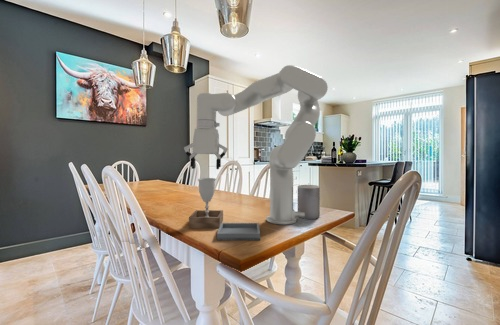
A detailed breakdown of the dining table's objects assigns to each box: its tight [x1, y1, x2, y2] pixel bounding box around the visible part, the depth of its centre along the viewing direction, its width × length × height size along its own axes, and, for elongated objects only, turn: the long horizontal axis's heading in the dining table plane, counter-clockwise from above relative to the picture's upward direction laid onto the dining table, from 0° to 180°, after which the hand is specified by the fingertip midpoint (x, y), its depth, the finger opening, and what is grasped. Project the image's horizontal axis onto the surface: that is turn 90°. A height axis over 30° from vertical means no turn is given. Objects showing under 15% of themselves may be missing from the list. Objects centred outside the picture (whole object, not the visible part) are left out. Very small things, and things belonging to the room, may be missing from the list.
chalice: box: [197, 177, 217, 217], centre depth 95 cm, size 7×7×18 cm
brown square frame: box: [188, 209, 224, 229], centre depth 95 cm, size 12×12×4 cm
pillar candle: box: [297, 183, 321, 220], centre depth 106 cm, size 10×10×15 cm
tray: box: [216, 222, 261, 241], centre depth 83 cm, size 14×12×2 cm
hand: (205, 168), depth 94 cm, fingers open, 9 cm apart
